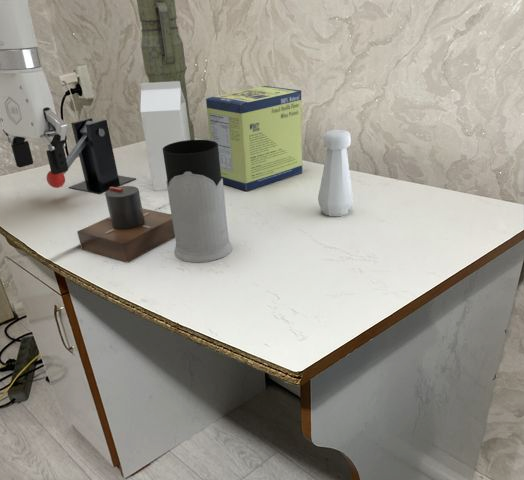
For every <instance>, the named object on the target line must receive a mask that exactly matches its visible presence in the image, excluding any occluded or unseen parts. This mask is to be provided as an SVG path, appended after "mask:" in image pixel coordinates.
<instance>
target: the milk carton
mask: <svg viewBox="0 0 524 480" xmlns="http://www.w3.org/2000/svg"><path fill="white" fill-rule="evenodd" d="M139 85H140V86H139V87H140V107H139V109H140V110H139V113H140V118H141V125H142V129H143V136H144V141H145V146H146V147H145V148H146V153H147V159H148V165H149V170H150V176H151V182H152V187H153V191H155V192H156V191H168V189H167V183H166V181H167V175H166V168H165V162H164V155H163V147H165V146H166V145H169V144H172V143H175V142H180V141H186V140H190V133H189V125H188V117H187V109H186V102H185V99H184V96H183V93H182V90H181V86H180V81H173V82H156V83H149V82H141V83H139Z"/></svg>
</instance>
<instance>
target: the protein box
mask: <svg viewBox="0 0 524 480" xmlns="http://www.w3.org/2000/svg"><path fill="white" fill-rule="evenodd" d="M205 102H206V103H205V104H206V113H207V124H208V132H209V133H208V134H209V140H210V141H214V142H216V143H218V149H219V160H220V170H221V178H223V185H227V186H229V187H234V188H235V189H239V190H242V191H245V192H247V191H251V190H254V189H257V188H260V187H262V186H265V185H269V184H273V183H274V182H277V181H280V180H284V179H287V178H290V177H293V176H295V175H298V174H302V173H303V125H302V124H303V120H302V115H303V114H302V113H303V111H302V110H303V109H302V90H301V89H294V88H293V89H292V88H284V87H276V86H270V85H261V86H257V87H253V88H249V89H244V90H238V91H235V92H229V93H225V94H220V95H214V96H209V97H207V98H206V99H205Z"/></svg>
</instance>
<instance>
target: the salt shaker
mask: <svg viewBox="0 0 524 480" xmlns="http://www.w3.org/2000/svg"><path fill="white" fill-rule="evenodd" d="M322 140H323V141H322V142H323V147H324V148H326V153H325V159H324V165H323V170H322V174H321V175H322V176H321V181H320V186H319V192H318V196H317V201H318V205H319V207H320V209H321V212H322V214H324V215H326V214H327V215H326V216H328V215H329V216H328V217H342V216H344V215H346V214H348V213H347V212H349V211H350V208H351V206H352V204H353V200H354V196H353V195H354V194H353V189H352V179H351V172H350V165H349V156H348V149H347V148H349V147H350V146H351V143H352V138H351V133H350V132H349V131H348V130H346V129H331V130H327V131H325V133H324V134H323V139H322ZM345 213H346V214H345ZM343 214H344V215H343ZM341 215H342V216H341Z"/></svg>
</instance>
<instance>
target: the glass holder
mask: <svg viewBox="0 0 524 480" xmlns="http://www.w3.org/2000/svg"><path fill="white" fill-rule="evenodd" d="M163 155H164V162H165V168H166V175H167V181H166V183H167V189H168V190H167V196H168V201H169V208H170V214H171V215H172V221H173V228H174V234H175V237H174V239H175V248H174V251H173V253H174V256H175V258H177V259H178V260H181V261H182V262H183V261H184V262H188V263H207V262H213V261H216V259H217V260H221V259H223V258H224V257H226V256H228V255H229V254H230V253H232V251H233V244H232V243H231V241H230V238H229V229H228V220H227V219H228V218H227V209H226V200H225V199H226V198H225V189H224V184H223V178H221V170H220V160H219V149H218V143H216V142H214V141H210V139H195V140H186V141H180V142H175V143H172V144H169V145H166V146H165V147H163ZM231 250H232V251H231ZM227 254H228V255H227Z"/></svg>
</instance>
